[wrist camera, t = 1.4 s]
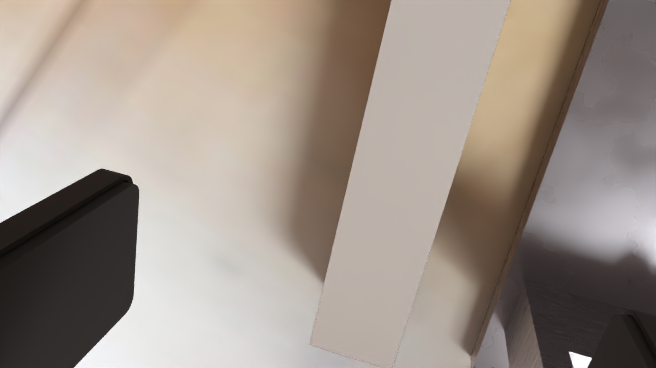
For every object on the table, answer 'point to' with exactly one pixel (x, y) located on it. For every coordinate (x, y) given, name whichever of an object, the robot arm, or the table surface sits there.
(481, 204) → the table surface
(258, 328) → the table surface
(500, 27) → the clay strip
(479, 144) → the table surface
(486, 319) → the twin post stand
